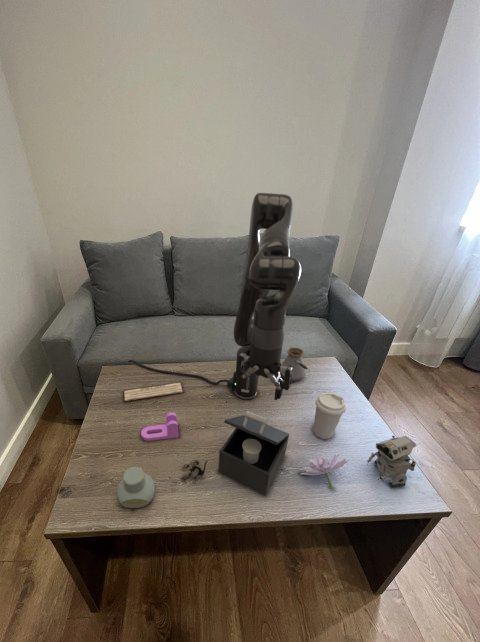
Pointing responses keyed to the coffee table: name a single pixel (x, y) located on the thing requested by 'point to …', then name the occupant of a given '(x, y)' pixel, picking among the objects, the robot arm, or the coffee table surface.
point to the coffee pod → (251, 450)
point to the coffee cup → (328, 414)
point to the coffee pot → (295, 363)
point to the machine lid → (257, 427)
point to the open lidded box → (245, 472)
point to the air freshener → (135, 488)
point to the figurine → (394, 459)
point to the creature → (194, 469)
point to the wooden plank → (152, 391)
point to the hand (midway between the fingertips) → (261, 393)
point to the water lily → (324, 467)
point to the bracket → (162, 429)
